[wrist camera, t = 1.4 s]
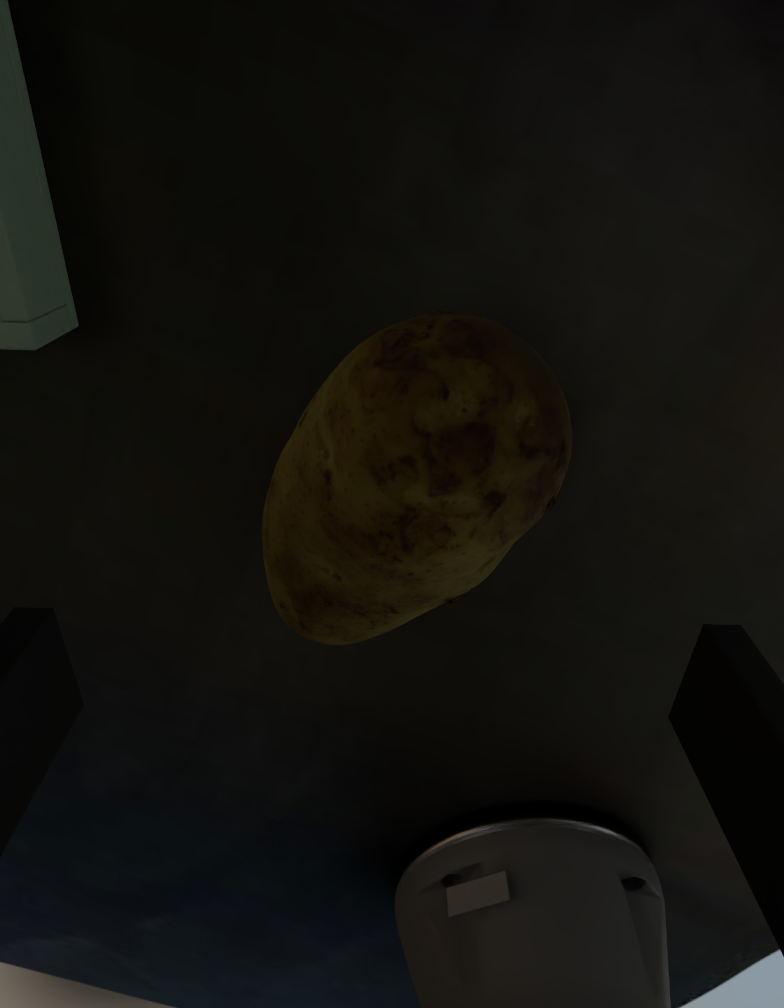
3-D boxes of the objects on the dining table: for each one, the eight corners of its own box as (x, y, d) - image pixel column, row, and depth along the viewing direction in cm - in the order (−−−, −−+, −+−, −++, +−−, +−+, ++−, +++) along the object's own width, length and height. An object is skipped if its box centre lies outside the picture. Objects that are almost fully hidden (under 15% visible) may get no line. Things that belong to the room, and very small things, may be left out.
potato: (183, 479, 23) (96, 618, 16) (445, 232, 19) (478, 279, 12) (337, 607, 26) (319, 769, 19) (592, 419, 22) (685, 541, 15)
